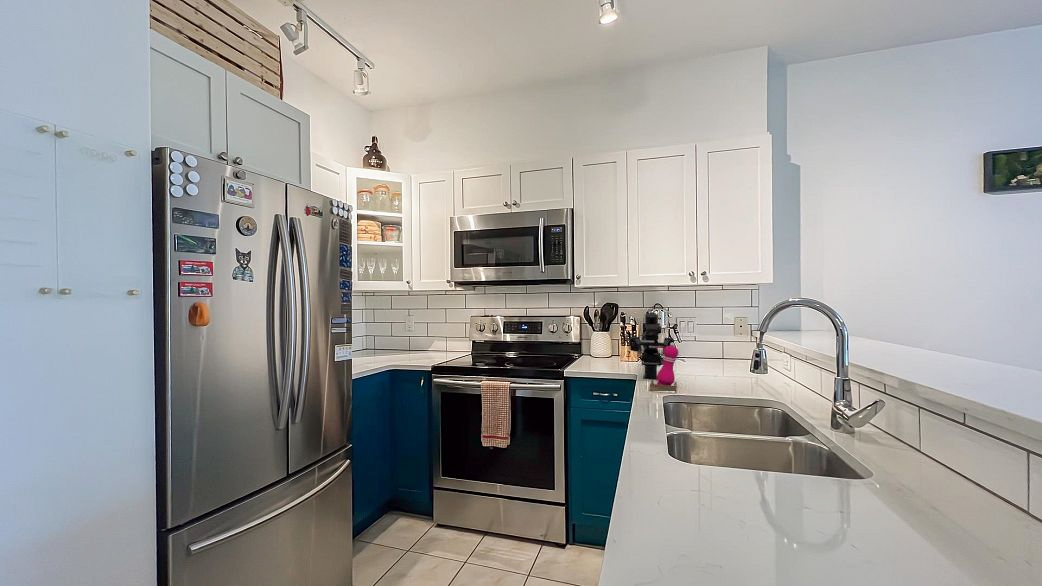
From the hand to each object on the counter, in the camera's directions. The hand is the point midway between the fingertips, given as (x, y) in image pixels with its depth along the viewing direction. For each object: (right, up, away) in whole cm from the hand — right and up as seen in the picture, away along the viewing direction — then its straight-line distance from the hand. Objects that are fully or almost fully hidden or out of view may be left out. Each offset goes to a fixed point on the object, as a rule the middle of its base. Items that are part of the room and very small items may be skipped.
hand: (652, 352), depth 188 cm
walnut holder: (+4, -15, -3) cm, 16 cm away
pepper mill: (+4, -15, -3) cm, 16 cm away
